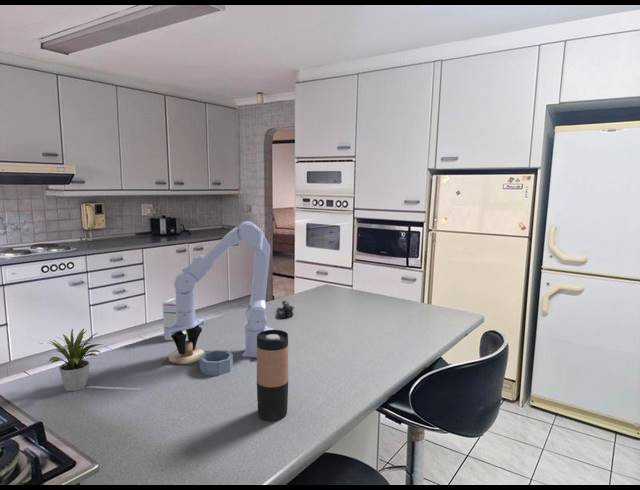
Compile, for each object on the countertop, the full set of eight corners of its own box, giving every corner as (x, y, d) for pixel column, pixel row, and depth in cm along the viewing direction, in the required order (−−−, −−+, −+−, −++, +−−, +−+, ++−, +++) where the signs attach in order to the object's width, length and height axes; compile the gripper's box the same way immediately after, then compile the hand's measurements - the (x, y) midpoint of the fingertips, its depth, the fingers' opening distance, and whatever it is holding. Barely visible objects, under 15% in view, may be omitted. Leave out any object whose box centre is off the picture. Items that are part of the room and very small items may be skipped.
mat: (211, 352, 136) (211, 350, 136) (198, 368, 124) (198, 366, 124) (176, 351, 137) (176, 349, 137) (160, 366, 125) (160, 364, 125)
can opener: (294, 319, 173) (294, 306, 173) (278, 319, 172) (278, 307, 172) (292, 307, 191) (292, 296, 190) (277, 307, 190) (277, 296, 189)
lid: (209, 350, 136) (209, 337, 135) (197, 364, 125) (197, 349, 124) (177, 349, 136) (176, 335, 136) (162, 363, 126) (162, 348, 125)
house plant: (57, 408, 101) (52, 344, 99) (30, 392, 108) (25, 333, 106) (112, 385, 113) (109, 328, 111) (85, 373, 120) (81, 319, 118)
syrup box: (178, 342, 145) (177, 302, 143) (163, 341, 146) (162, 301, 144) (187, 336, 150) (185, 298, 149) (172, 335, 152) (171, 297, 150)
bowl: (235, 364, 127) (235, 350, 127) (227, 377, 118) (226, 363, 118) (207, 363, 128) (206, 349, 127) (196, 376, 119) (196, 361, 118)
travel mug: (257, 405, 103) (257, 329, 101) (288, 404, 104) (288, 329, 101) (255, 422, 96) (255, 341, 93) (288, 421, 97) (288, 340, 94)
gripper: (195, 303, 137) (196, 342, 139) (157, 313, 125) (159, 356, 127) (209, 306, 133) (210, 346, 135) (172, 317, 121) (174, 361, 123)
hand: (186, 351), depth 130 cm, fingers closed on lid, 4 cm apart
